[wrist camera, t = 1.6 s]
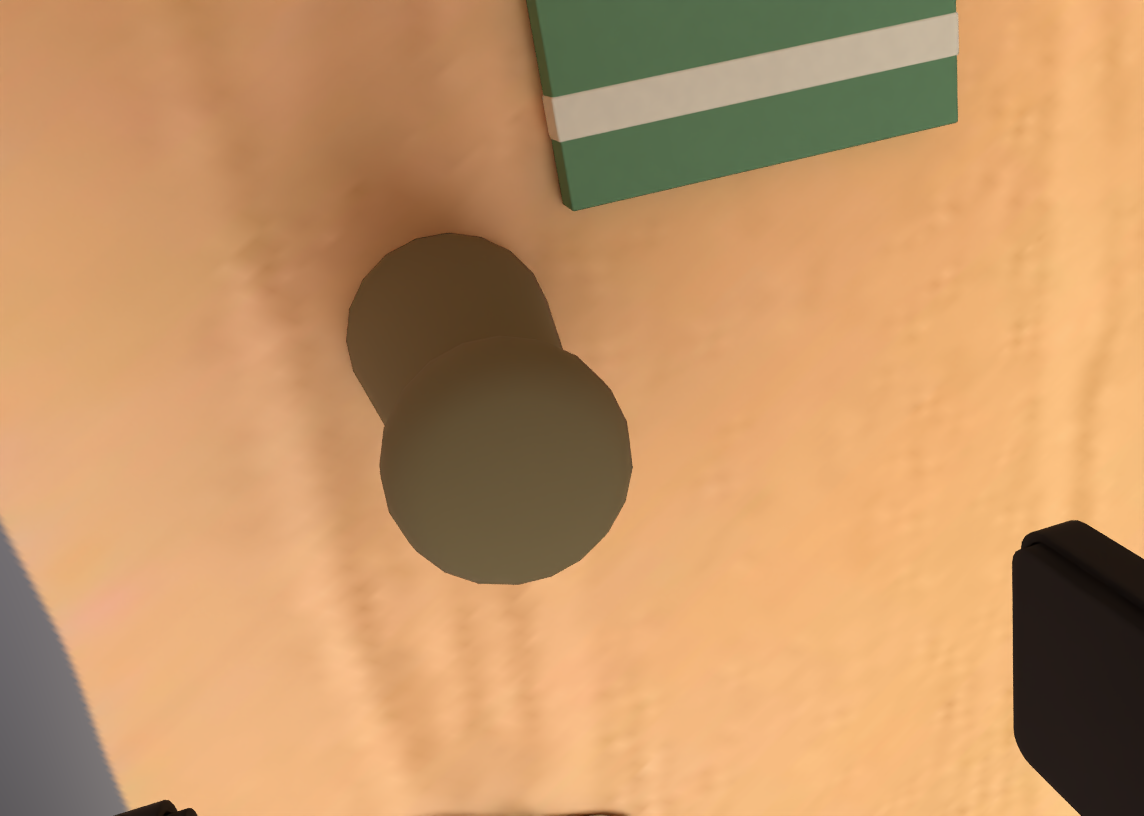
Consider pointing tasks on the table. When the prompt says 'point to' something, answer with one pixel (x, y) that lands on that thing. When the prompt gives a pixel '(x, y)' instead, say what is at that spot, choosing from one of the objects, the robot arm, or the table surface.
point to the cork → (484, 414)
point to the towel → (732, 85)
